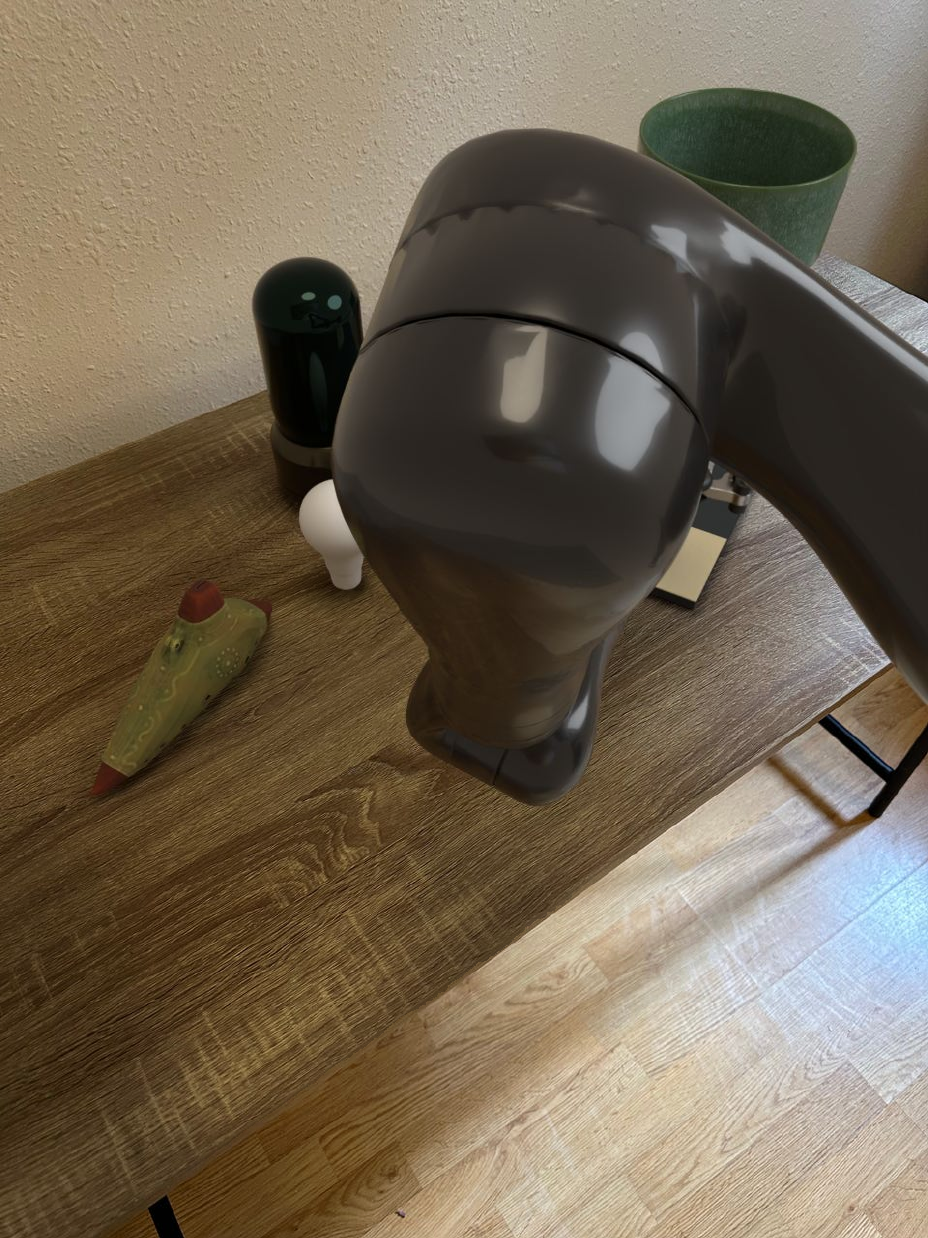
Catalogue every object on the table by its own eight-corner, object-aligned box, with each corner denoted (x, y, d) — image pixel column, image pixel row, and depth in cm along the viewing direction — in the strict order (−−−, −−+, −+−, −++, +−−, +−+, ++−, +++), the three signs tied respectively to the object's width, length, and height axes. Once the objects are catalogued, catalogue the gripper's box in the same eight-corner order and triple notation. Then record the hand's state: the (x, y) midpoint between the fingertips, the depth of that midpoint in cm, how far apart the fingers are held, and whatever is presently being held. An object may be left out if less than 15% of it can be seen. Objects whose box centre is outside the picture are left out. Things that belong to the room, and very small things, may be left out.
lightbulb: (335, 549, 87) (320, 453, 79) (396, 572, 85) (388, 477, 77) (297, 597, 84) (278, 502, 75) (360, 621, 82) (348, 528, 73)
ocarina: (126, 822, 70) (83, 747, 63) (71, 787, 72) (23, 710, 64) (299, 631, 81) (281, 548, 73) (248, 605, 83) (225, 521, 75)
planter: (575, 332, 107) (595, 131, 90) (689, 264, 115) (727, 68, 99) (718, 418, 98) (770, 212, 81) (832, 337, 106) (900, 136, 90)
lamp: (269, 461, 94) (225, 248, 77) (365, 438, 96) (344, 225, 79) (294, 530, 89) (253, 316, 71) (396, 503, 91) (380, 289, 74)
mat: (758, 478, 93) (761, 469, 92) (693, 609, 83) (695, 601, 82) (544, 407, 99) (545, 399, 98) (459, 522, 89) (459, 513, 88)
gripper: (734, 527, 59) (809, 373, 69) (516, 452, 63) (616, 317, 73) (709, 608, 65) (782, 456, 74) (511, 535, 69) (604, 399, 79)
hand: (699, 388), depth 74 cm, fingers closed on candle, 5 cm apart
